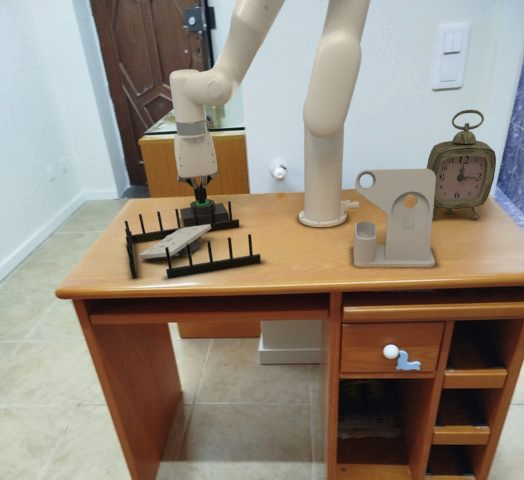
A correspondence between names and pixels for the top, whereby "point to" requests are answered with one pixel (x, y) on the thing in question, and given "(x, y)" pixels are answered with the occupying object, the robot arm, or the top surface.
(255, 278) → the top surface
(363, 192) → the phone holder
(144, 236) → the dish rack
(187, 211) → the control block
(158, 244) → the wall socket
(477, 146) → the tabletop clock
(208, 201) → the button
